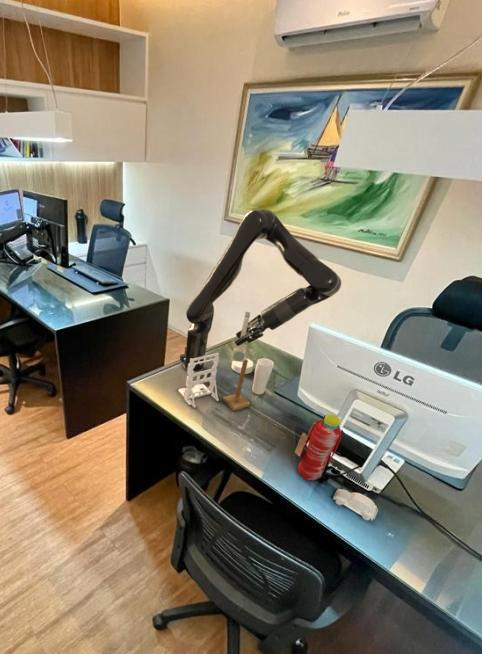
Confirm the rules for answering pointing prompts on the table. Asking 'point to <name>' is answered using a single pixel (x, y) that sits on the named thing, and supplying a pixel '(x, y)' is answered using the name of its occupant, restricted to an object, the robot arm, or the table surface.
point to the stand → (238, 392)
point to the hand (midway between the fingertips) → (236, 339)
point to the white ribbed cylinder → (238, 365)
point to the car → (357, 503)
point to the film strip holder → (196, 390)
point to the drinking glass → (262, 375)
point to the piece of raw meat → (318, 447)
